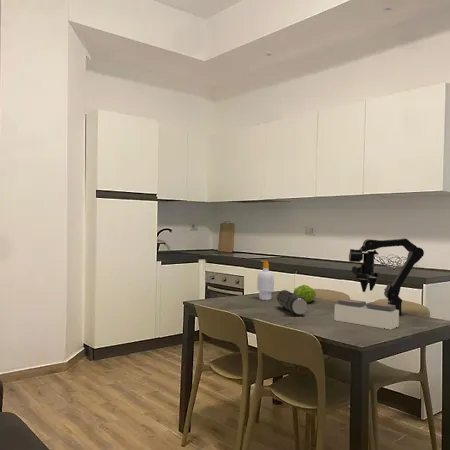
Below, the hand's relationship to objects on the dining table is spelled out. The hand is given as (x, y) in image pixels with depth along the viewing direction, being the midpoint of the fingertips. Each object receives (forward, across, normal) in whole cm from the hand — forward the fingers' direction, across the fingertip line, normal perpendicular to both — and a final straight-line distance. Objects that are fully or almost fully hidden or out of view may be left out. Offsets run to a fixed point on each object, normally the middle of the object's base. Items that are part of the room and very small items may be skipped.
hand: (367, 291), depth 258 cm
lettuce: (+13, -12, -45) cm, 49 cm away
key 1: (+4, +25, +3) cm, 25 cm away
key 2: (+4, +26, +18) cm, 31 cm away
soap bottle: (+13, 0, -67) cm, 68 cm away
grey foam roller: (+13, +25, -32) cm, 43 cm away
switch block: (+12, +25, +10) cm, 30 cm away
